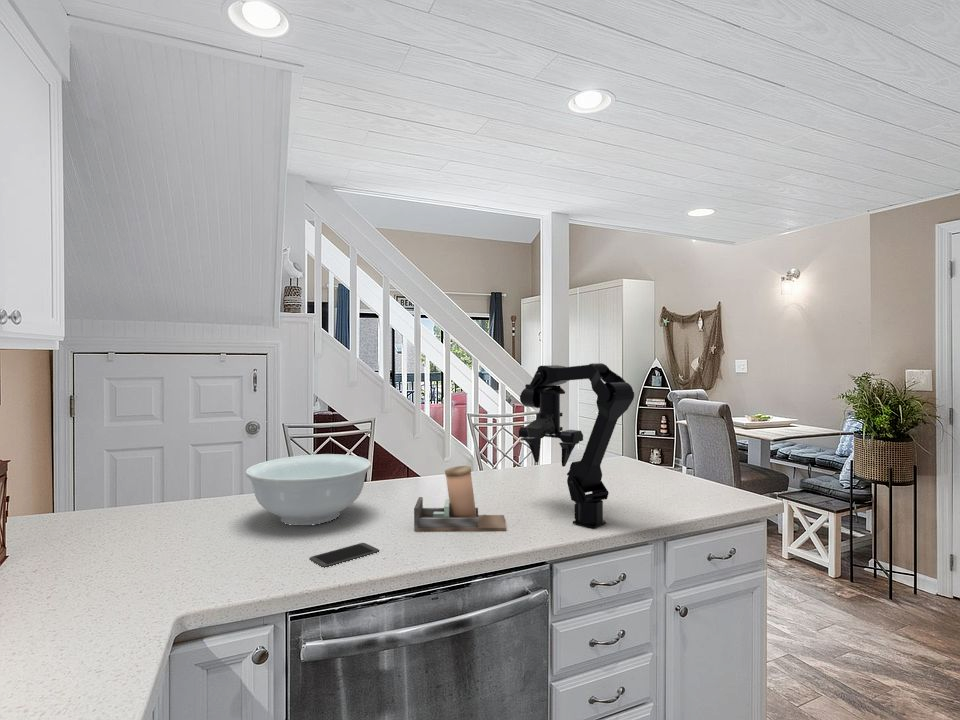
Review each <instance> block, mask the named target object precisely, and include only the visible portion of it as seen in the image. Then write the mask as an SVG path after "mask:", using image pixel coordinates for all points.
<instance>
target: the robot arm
mask: <svg viewBox="0 0 960 720" xmlns="http://www.w3.org/2000/svg"><path fill="white" fill-rule="evenodd" d="M578 380H581V381H582V380H588V381H590V385H591V390H592V391H593V392H594V393H595V395H596V396H597V398H596V401H595V402H596V407H597V411H598V414H597V416H596V418H595V421H594V424H593V427H592V430H591V432H590V436H589V437H588V441H587V443H586V447H585V450H584V452H583V455H582V458H581V460H578V461H572V462H571V463H570V465H569V466H570V467H569V470H568V472H567V473H566V475H567V481H566V483H567V487H568V491H569V495H570V499H571V501H573V502H574V520H572V524H574V525H578V526H582V527H586V528H590V529H597V528H598V527H600V526H602V525H604V524H606V523H607V521H606V520H604V505H603V504H604V500H608V497H609V494H610V493H609V491H608V490H609V489H607V488H606V486H605V484H604V483H603V481H602V478H603V472H602V468H601V464H602V461H603V459H604V457H605V453H606V451H607V449H608V445H609V444H610V441H611V438H612V435H613V433H614V430H615V427H616V424H617V422H618V420H619V418H621V416H623V414H624V413H626V412H627V411H628V409H629V407H630V406H631V404H632V403H633V400H634V398H635V391H634V389H633V387H632V386H631V384H629V383H628V382H626V380H625V379H624V378H623V377H621V375H619V374H617V373H616V372H614V371H613V370H611V369H610V368H609V366H607V364H605V363H601V362H600V363H596V362H595V363H589V364H584V365H582V364H581V365H576V366H574V365H573V366H564V365H557V364H556V365H550V364H549V365H548V364H547V365H540V366H539V365H538V367H537V370H536V371H535V374H534V375H533V377H532V380H531V381H530V383H529V384H526V383H525V385H524V386H525V388H524V389H523V390H522V391H521V392H520V395H519V400H520V403H521V405H522V406H524V407H526V408H535V409H539V412H537V413H536V418H535V420H533V421H532V422H530V423H528V424H527V425H526V426H521V427H519V429H518V433H517V434H518V435H517V436H518V437H519V438H521V440H522V441H525V443H526V444H528V447H529V449H530V452H531V454H532V457H533V459H534V463H539V460H540V454H541V453H540V452H541V442H542V439H543V438H544V437H545V438H546V437H547V438H555V439H559V440H561V442H559V445H560V448H561V466H562V467H566V465H567V463H568V461H569V458H570V456H571V454H572V452H573V451H574V448H575V446H576V445H578V444H580V442H583V441H584V434H583V433H582V430H577V429H566V430H563V426H561V417H563V412H561V404H560V403H561V395H565V394H566V391H565V390H564V388H562V387H561V385H562V384H566V383H567V382H569V381H578ZM586 493H588V494H586Z"/></svg>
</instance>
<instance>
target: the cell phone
mask: <svg viewBox="0 0 960 720" xmlns="http://www.w3.org/2000/svg"><path fill="white" fill-rule="evenodd" d="M379 551H380V549H379V548H376V547H374V546H372V545H371V544H368V543H365V542H360V543H355V544H352V545H349V546H345V547H342V548H338V549H335V550H331V551H327V552H323V553H319V554H315V555H312V556H310V557H309V559H308V560H309V561H310V560H311V561H310V562H312V561H313V562H314V564H315V563H316V564H315V565H317V564H318V565H319V566H318V565H317V566H318V567H320V566H321V567H320V568H322V567H324V568H323V569H326V568H325V567H327V568H330V567H329V566H331V567H334V566H333V565H335V566H337V565H336V564H338V565H340V564H339V563H341V564H343V563H342V562H345V563H347V562H346V561H348V562H351V561H350V560H352V561H354V560H353V559H355V560H358V559H357V558H359V559H361V558H360V557H362V558H365V557H368V556H367V555H369V556H371V555H370V554H372V555H374V554H373V553H376V554H378V553H377V552H379ZM380 552H381V551H380ZM380 552H379V553H380ZM364 556H365V557H364ZM313 562H312V563H313Z"/></svg>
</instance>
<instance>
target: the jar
mask: <svg viewBox="0 0 960 720" xmlns="http://www.w3.org/2000/svg"><path fill="white" fill-rule="evenodd" d="M444 474H445V478H446V485H447V493H448V499H449V502H450V510H451V518H467V517H477V516H476V508H477V507H476V503H475V494H474V487H473V481H472V480H473V479H472V467H471V466H469V465H458V466H454V467H453V466H452V467H448V468H446V469H445V470H444Z"/></svg>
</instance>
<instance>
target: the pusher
mask: <svg viewBox="0 0 960 720" xmlns="http://www.w3.org/2000/svg"><path fill="white" fill-rule="evenodd" d="M444 501H445V502H444V505H443V508H444V512H434V513H433V518H450V502H449V498H446V499H445V500H444Z"/></svg>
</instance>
